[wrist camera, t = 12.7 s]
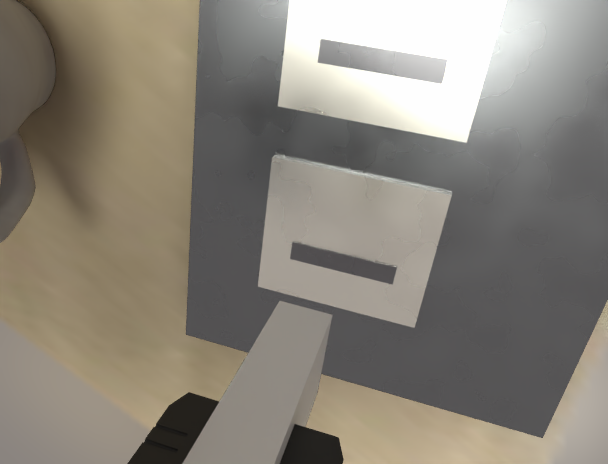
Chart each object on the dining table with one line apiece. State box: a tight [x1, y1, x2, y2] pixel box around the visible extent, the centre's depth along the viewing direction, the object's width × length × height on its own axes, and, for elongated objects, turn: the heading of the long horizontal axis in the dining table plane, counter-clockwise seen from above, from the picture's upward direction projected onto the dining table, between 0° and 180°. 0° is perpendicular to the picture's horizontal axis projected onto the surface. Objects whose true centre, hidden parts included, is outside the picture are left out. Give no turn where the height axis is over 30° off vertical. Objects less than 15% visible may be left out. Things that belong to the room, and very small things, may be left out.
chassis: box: [186, 0, 608, 438], centre depth 19 cm, size 17×22×2 cm
